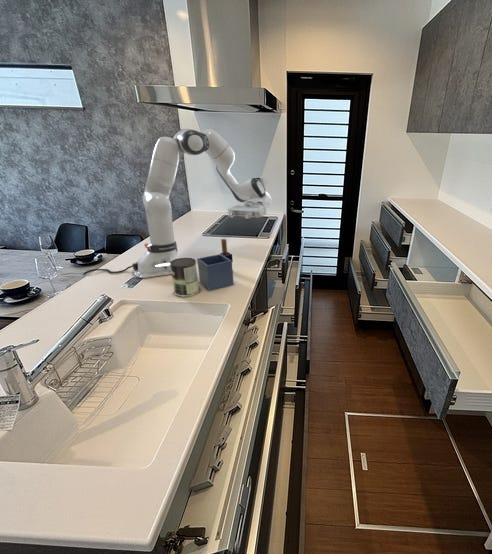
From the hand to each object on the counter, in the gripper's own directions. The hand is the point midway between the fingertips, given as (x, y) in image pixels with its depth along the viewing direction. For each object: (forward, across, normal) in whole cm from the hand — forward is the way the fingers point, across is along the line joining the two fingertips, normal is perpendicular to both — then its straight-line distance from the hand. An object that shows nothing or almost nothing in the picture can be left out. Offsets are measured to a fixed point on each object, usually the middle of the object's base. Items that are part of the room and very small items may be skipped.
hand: (237, 216), depth 156 cm
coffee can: (+43, -2, +18) cm, 47 cm away
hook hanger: (+18, -1, +23) cm, 29 cm away
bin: (+31, +4, +21) cm, 37 cm away
